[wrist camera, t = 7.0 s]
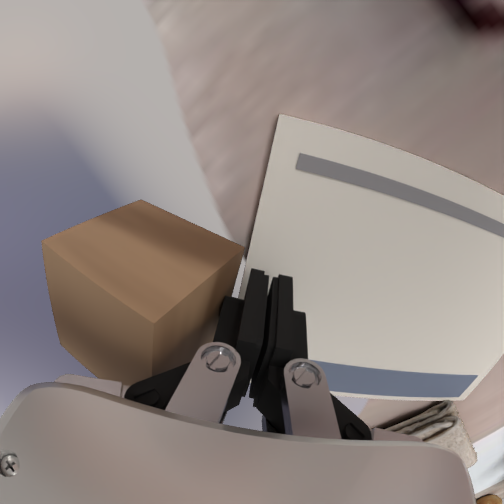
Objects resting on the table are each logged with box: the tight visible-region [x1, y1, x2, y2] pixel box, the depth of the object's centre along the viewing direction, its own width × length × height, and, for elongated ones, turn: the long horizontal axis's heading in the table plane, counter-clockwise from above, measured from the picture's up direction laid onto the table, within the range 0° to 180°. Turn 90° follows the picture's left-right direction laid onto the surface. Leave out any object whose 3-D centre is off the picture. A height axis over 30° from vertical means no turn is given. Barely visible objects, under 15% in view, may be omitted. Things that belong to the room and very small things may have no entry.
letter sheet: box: [238, 114, 504, 401], centre depth 14 cm, size 14×18×1 cm
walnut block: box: [42, 200, 245, 386], centre depth 11 cm, size 5×5×5 cm
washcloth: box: [384, 400, 477, 469], centre depth 20 cm, size 12×18×3 cm, turn 41°
